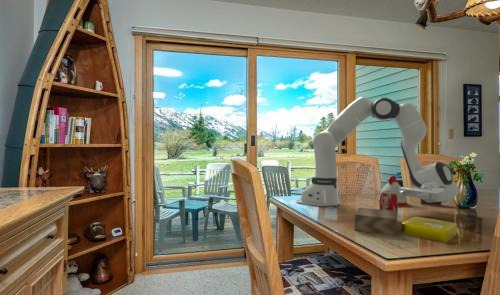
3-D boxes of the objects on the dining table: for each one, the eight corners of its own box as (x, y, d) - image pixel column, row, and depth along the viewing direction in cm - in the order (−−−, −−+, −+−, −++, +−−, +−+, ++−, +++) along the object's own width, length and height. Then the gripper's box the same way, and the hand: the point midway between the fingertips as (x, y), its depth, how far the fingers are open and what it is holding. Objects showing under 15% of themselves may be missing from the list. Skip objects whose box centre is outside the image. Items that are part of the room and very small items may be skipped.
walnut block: (354, 230, 120) (355, 214, 120) (359, 222, 133) (359, 207, 132) (395, 235, 114) (395, 218, 114) (395, 225, 127) (396, 211, 127)
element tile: (457, 234, 117) (457, 221, 116) (446, 243, 106) (446, 229, 106) (414, 226, 127) (414, 215, 127) (399, 234, 117) (399, 221, 117)
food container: (445, 204, 171) (445, 186, 171) (444, 206, 166) (444, 187, 166) (419, 202, 178) (419, 184, 178) (417, 203, 173) (418, 185, 173)
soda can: (399, 222, 132) (399, 193, 132) (381, 221, 133) (381, 193, 133) (395, 218, 139) (395, 191, 139) (378, 217, 140) (378, 190, 140)
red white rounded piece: (373, 202, 175) (374, 175, 175) (387, 200, 183) (387, 174, 183) (398, 207, 164) (398, 178, 164) (411, 204, 172) (412, 176, 172)
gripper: (410, 183, 156) (390, 185, 150) (452, 188, 138) (430, 190, 132) (410, 196, 156) (390, 198, 150) (452, 203, 138) (430, 205, 132)
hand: (409, 194), depth 141 cm, fingers open, 8 cm apart
